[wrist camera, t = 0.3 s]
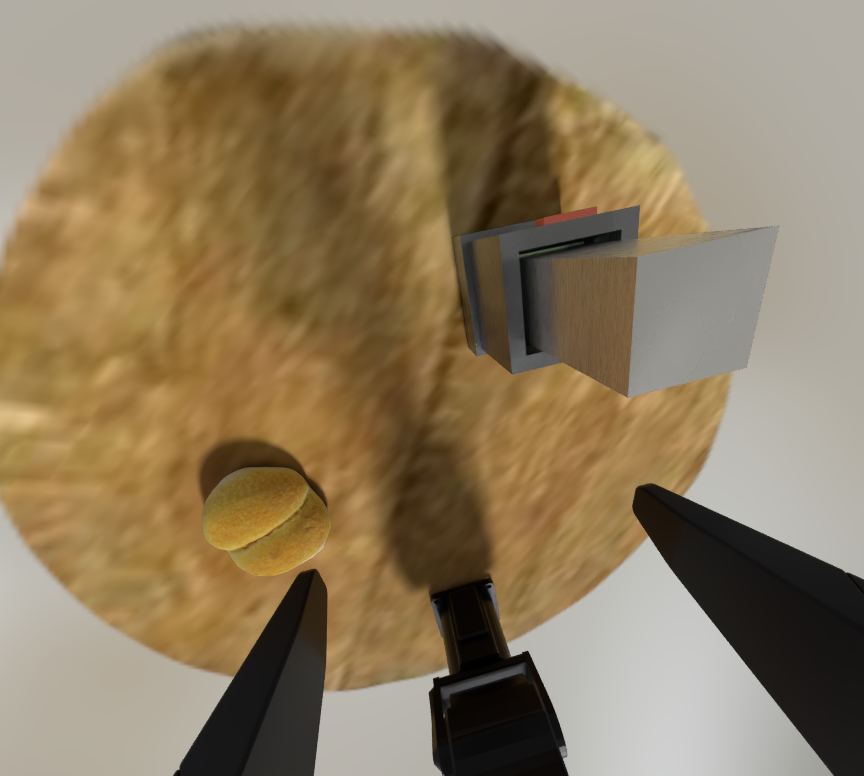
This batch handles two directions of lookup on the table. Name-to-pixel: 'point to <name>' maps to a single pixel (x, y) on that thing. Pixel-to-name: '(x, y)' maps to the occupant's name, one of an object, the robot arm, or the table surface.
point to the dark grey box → (501, 283)
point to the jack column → (648, 305)
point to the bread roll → (266, 519)
